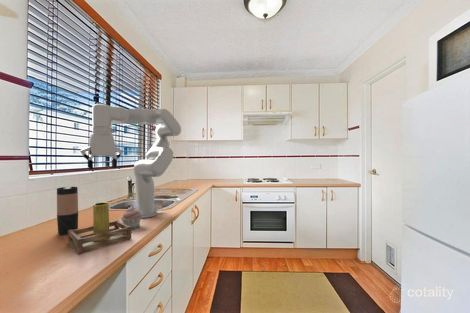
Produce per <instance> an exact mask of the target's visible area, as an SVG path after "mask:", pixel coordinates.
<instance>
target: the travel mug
mask: <svg viewBox="0 0 470 313" xmlns="http://www.w3.org/2000/svg"><path fill="white" fill-rule="evenodd" d="M78 191H79V190H78V186H71V187H68V188H67V187H65V186H64V187H58V188H56V219H57V220H56V222H57V234H58V235H59V236H66V235H67V236H68V230H75V229H79V196H78V194H79V193H78Z"/></svg>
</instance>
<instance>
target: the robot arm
mask: <svg viewBox="0 0 470 313" xmlns="http://www.w3.org/2000/svg"><path fill="white" fill-rule="evenodd" d="M91 111H92V112H91V113H92V134H90V136H89V142H88V147H85V148H82V149H80V151H79V152H80V153H81V155H82V157H83V158H85V159H86V160H87V168H88V169H89V170H93V169H94V160H93V158H94V157H110V158H112V159H111V167H112V169H117V166H118V159H119V158H120V157H121V155H122V154H123V150H122V149H120V148H118V147H116V143H115V137H114V135H113V133H115V132H116V130H115V129H113V124H119V125H121V124H122V125H123V124H124V125H125V124H128V125H156V127H155V134H156V140H155V142H154V143H153V145H152V146H151V148H150V149H149V150H148V151H147V153H146V159H139V160H138V161H136V162H135V163H134V165H133V172H134V174H133V175H134V177H135V203H136V204H135V205H136V206H135V207H136V208H135V209H137V210H138V211H139V212H140V213H141V215H140V216H142V218H141V219H146V218H152V217H154V216H157V215H158V212H157V211H159V210H163V206H162V205H160V206H157V205H155V183H154V179H153V178H159V177H161V176H163V175H164V174H165V172H166V170H168V168H169V166H170V165H171V164H172V162H173V159H174V151H173V149H172V148H170V142H169V140H168V139H169V138H168V137H177V136H179V135H181V133H182V128H181V127H182V126H181V125H180V123H179V122H178V120H177V119H176V118H175V116H174V115H173V113H171V111H169V110H167V109H166V108H160V109H151V108H149V109H148V108H141V107H140V108H138V107H137V108H129V109H127V108H125V107H121V106H112V105H111V106H110V105H108V104H104V103H103V104H102V103H97V104H96V103H95V104H93V105H92V110H91ZM86 152H88V155H87V153H86ZM116 152H117V154H116Z"/></svg>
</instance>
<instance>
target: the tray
mask: <svg viewBox="0 0 470 313" xmlns="http://www.w3.org/2000/svg"><path fill="white" fill-rule="evenodd" d="M111 227H112V228H111ZM89 232H91V233H89ZM84 233H87V234H84ZM79 234H83V235H79ZM108 237H110V238H109V239H108V240H105V241H100V242H94V241H96V240H100V239H104V238H108ZM130 239H131V240H132V229H131V226H127V225H125V224H123V222H122V221H120V220H118V219H115V220H113V221H109V232H105V233H101V234H97V235H93V225H90V226H86V227H81V228H78V229H75V230H68V234H67V244H68V245H69V246H70V247H71V248H72V249H73V250H74V251H75V252H76V254H77V255H81V254H84V253H87V252H91V251H95V250H99V249H103V248H105V247H109V246H112V245H116V244H119V243H122V242H126V241H131V240H130Z"/></svg>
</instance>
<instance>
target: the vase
mask: <svg viewBox="0 0 470 313" xmlns="http://www.w3.org/2000/svg"><path fill="white" fill-rule="evenodd" d="M109 206H110V205H109V202H107V201H106V202H97V203H94V204H92V209H93V211H92V212H93V214H92V215H93V225H92V226H93V231H92V233H93V235H97V234H101V233H105V232H109V229H110V227H109V222H110V213H109ZM109 238H110V237H108V238H104V239H100V240H96V241H94V242H100V241H105V240H108V239H109Z"/></svg>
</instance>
